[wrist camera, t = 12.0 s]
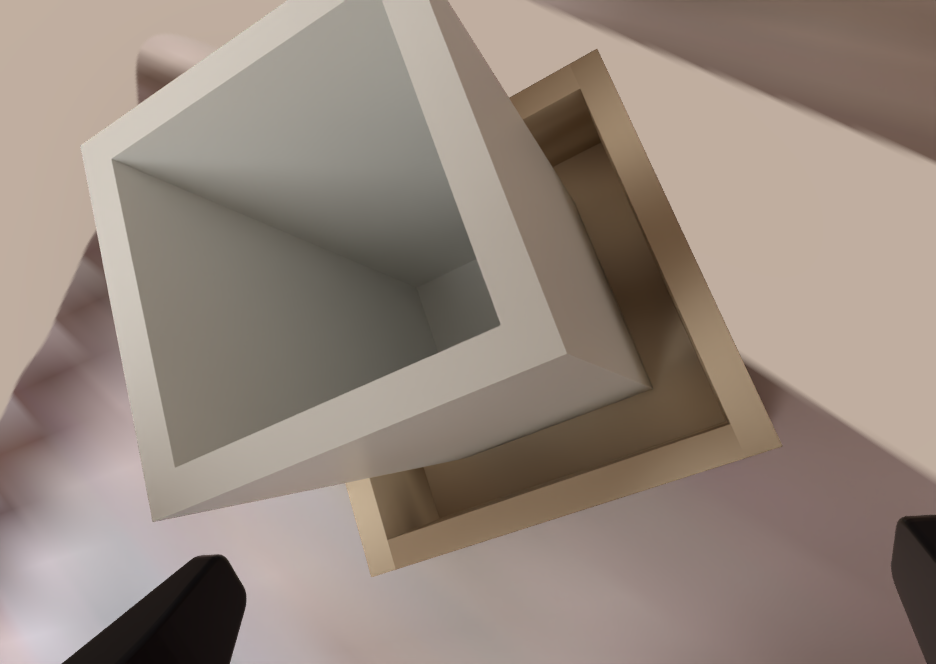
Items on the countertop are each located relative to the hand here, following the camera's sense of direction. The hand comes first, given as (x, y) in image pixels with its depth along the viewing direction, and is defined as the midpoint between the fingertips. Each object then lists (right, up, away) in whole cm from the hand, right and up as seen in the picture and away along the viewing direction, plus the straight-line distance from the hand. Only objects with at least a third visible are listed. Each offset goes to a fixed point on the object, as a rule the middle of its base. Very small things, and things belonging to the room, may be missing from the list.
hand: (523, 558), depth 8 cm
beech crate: (+1, +3, +12) cm, 13 cm away
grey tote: (+1, +3, +11) cm, 12 cm away
